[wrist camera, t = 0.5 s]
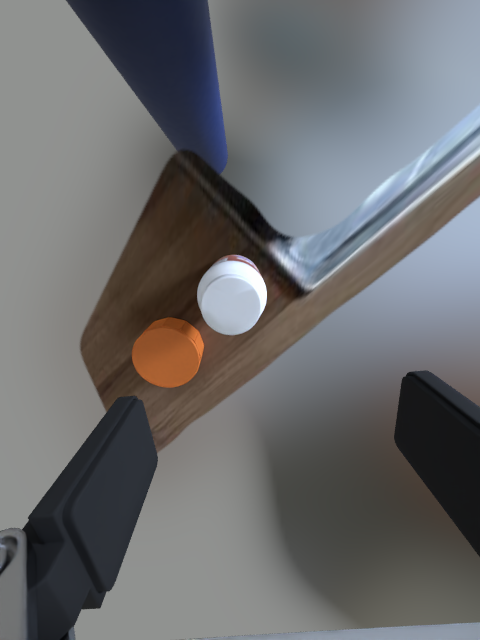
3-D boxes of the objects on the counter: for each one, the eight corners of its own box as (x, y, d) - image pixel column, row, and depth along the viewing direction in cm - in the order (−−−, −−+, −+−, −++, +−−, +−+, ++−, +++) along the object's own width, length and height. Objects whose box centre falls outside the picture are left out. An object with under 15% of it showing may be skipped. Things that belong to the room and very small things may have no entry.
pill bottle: (270, 287, 29) (287, 317, 19) (228, 315, 30) (223, 358, 20) (240, 242, 27) (241, 248, 17) (197, 274, 29) (173, 297, 18)
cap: (132, 327, 31) (120, 338, 27) (191, 310, 30) (185, 320, 27) (156, 378, 33) (147, 394, 30) (211, 364, 33) (208, 378, 29)
